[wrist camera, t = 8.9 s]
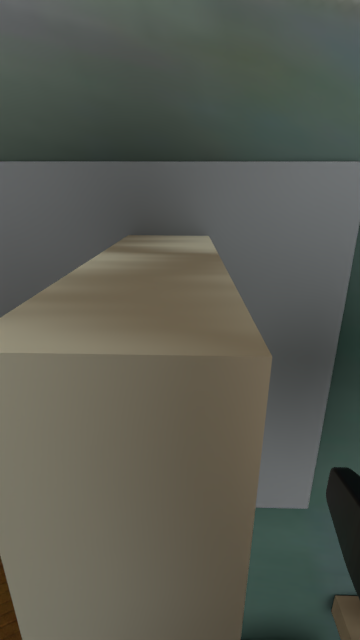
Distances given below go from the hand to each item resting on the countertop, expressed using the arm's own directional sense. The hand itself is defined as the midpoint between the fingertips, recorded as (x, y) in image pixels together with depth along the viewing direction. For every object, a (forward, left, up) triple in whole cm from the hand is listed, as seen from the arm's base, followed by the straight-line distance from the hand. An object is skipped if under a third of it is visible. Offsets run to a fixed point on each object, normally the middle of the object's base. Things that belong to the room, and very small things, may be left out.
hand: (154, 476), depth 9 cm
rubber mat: (0, 0, -7) cm, 7 cm away
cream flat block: (0, 0, -6) cm, 6 cm away
